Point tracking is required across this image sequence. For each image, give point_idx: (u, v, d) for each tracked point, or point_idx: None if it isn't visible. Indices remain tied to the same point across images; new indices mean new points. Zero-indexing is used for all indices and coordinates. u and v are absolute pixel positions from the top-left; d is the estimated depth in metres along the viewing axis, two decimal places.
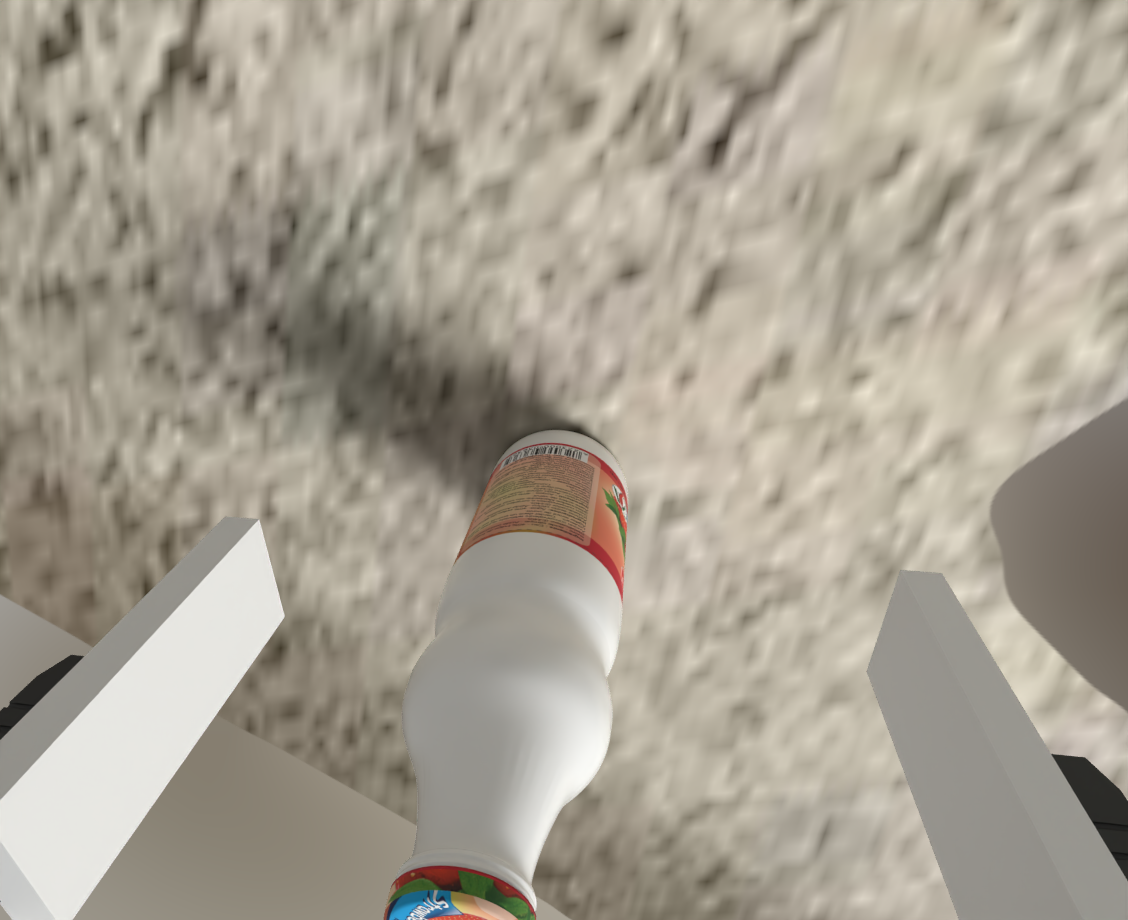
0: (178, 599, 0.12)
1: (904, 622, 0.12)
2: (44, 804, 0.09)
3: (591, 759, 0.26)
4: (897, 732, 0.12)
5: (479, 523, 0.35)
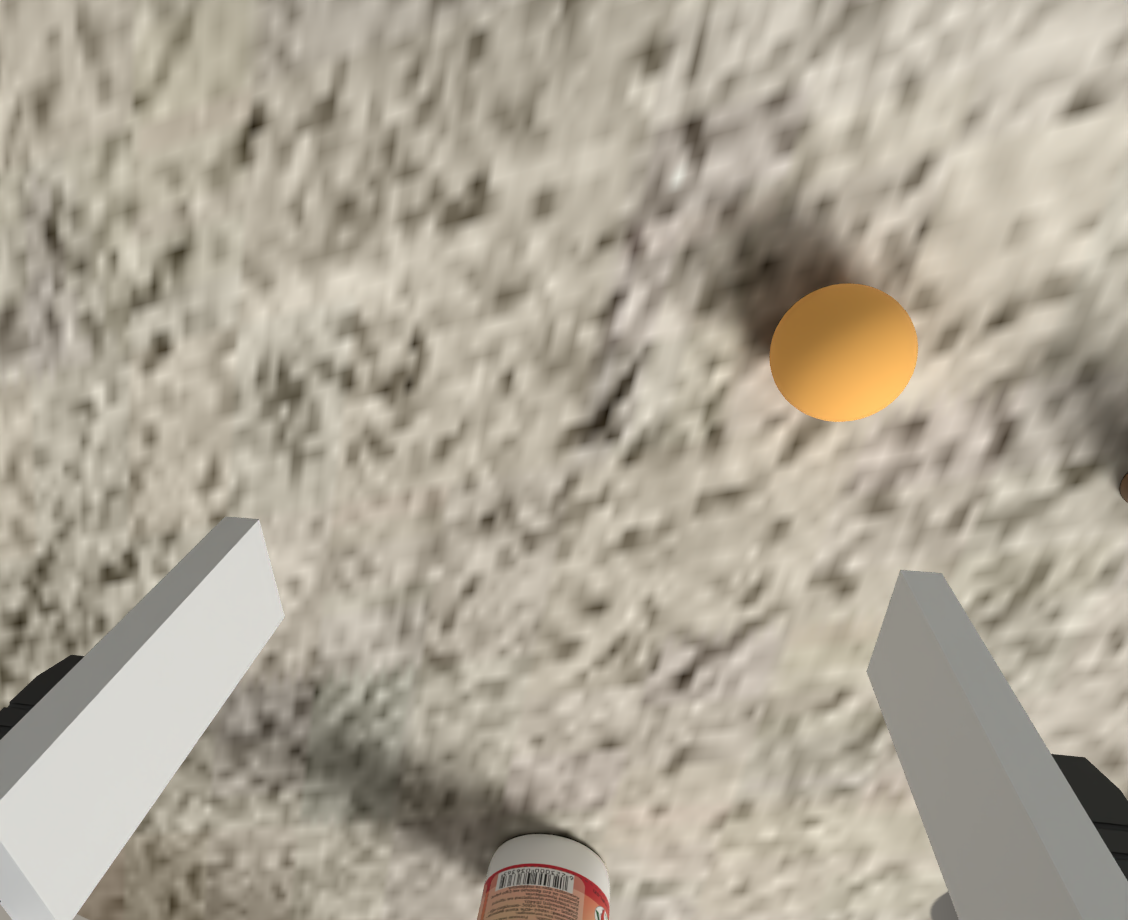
0: (178, 599, 0.12)
1: (904, 622, 0.12)
2: (44, 804, 0.09)
3: None
4: (897, 732, 0.12)
5: None
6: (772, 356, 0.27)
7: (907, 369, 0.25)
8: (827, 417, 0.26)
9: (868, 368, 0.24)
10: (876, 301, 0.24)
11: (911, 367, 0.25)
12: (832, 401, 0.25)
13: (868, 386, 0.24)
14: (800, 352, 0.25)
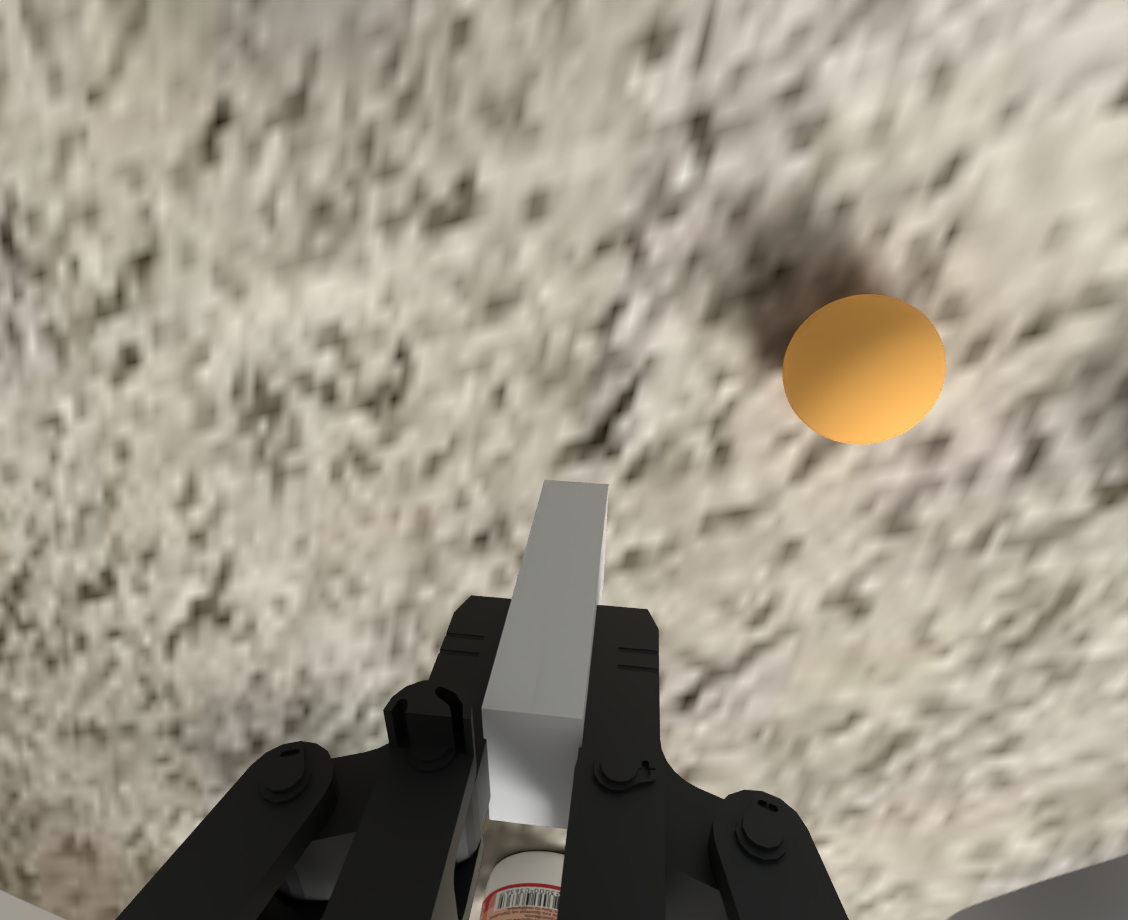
0: (558, 547, 0.13)
1: None
2: None
3: None
4: None
5: None
6: (785, 373, 0.24)
7: (935, 390, 0.22)
8: (845, 440, 0.24)
9: (893, 390, 0.22)
10: (901, 315, 0.22)
11: (939, 387, 0.23)
12: (852, 425, 0.23)
13: (892, 409, 0.22)
14: (818, 371, 0.23)
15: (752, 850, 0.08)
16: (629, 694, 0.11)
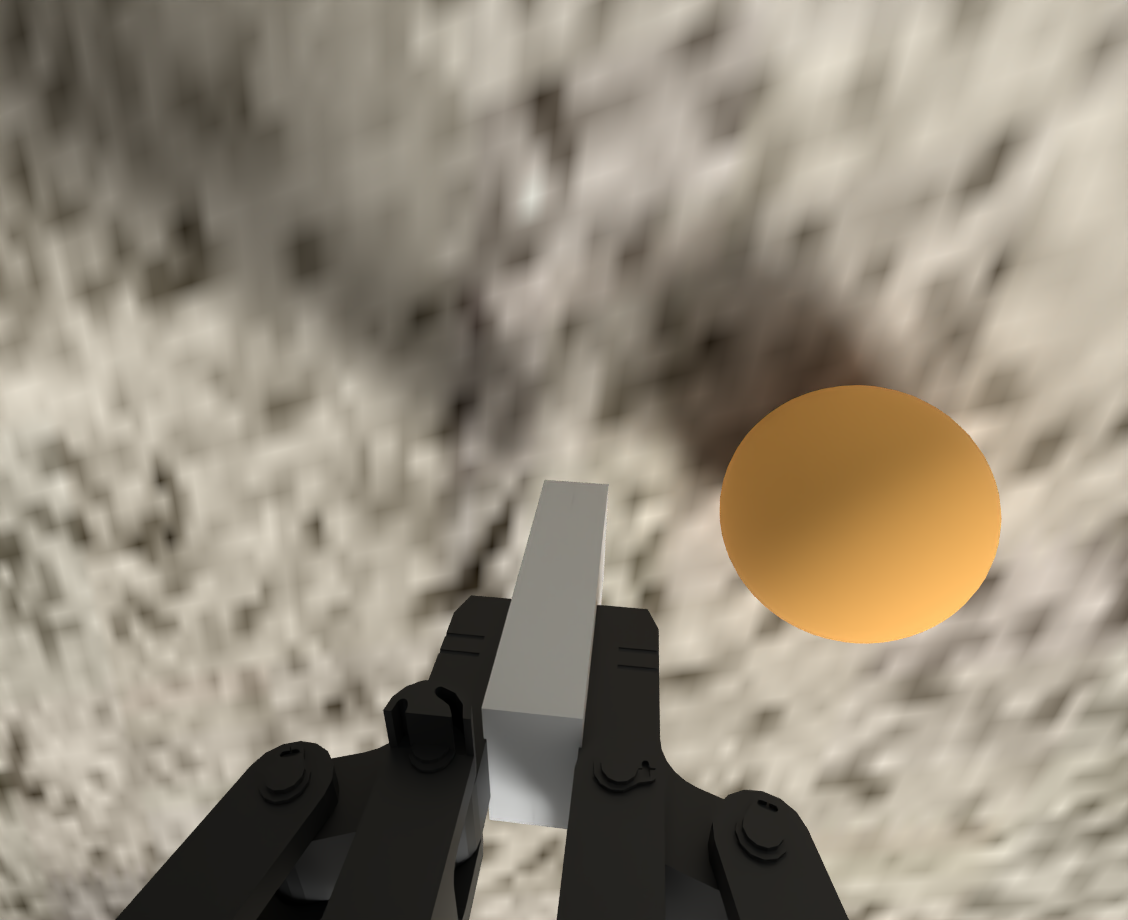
0: (558, 547, 0.13)
1: None
2: None
3: None
4: None
5: None
6: (722, 522, 0.14)
7: (984, 569, 0.12)
8: (828, 638, 0.14)
9: (907, 582, 0.12)
10: (917, 439, 0.12)
11: (991, 561, 0.12)
12: (835, 629, 0.13)
13: (907, 611, 0.12)
14: (769, 538, 0.13)
15: (752, 850, 0.08)
16: (628, 694, 0.11)
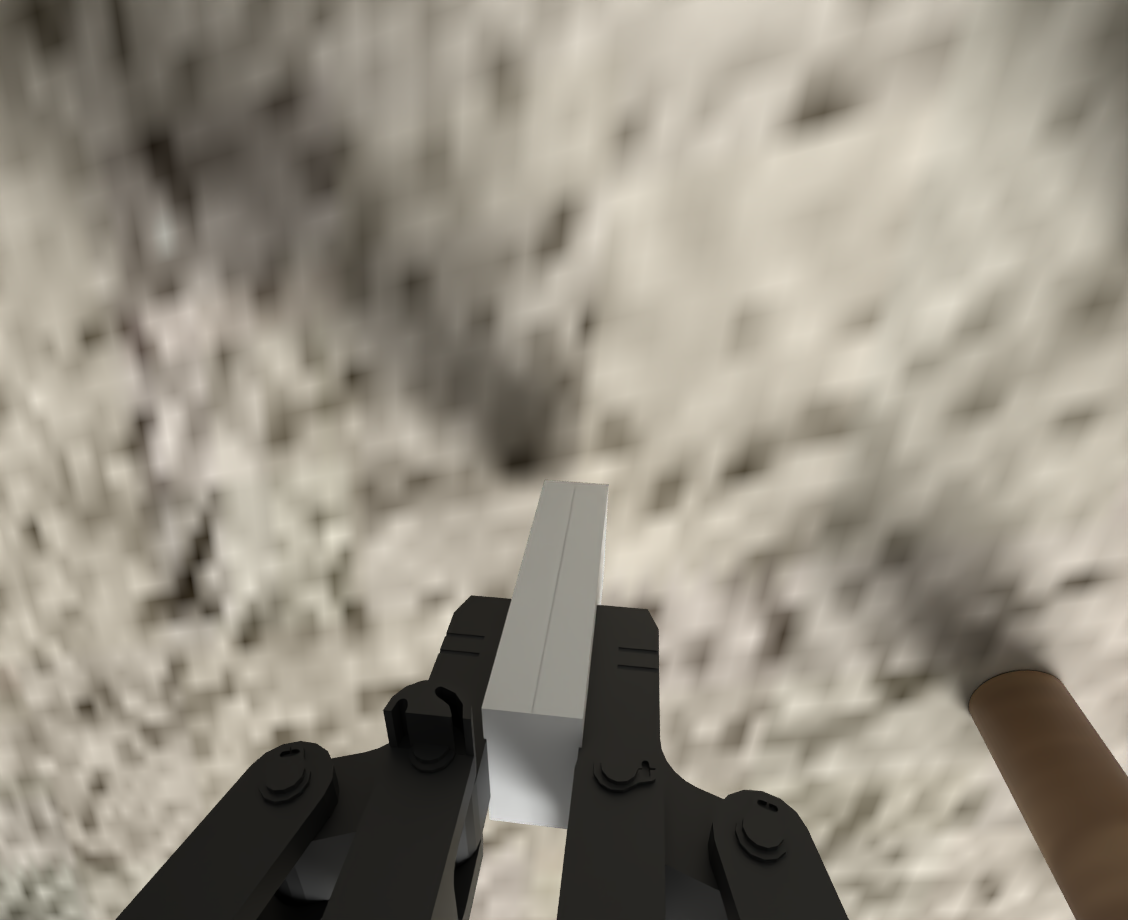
0: (558, 547, 0.13)
1: None
2: None
3: None
4: None
5: None
6: None
7: None
8: None
9: None
10: None
11: None
12: None
13: None
14: None
15: (752, 849, 0.08)
16: (628, 694, 0.11)
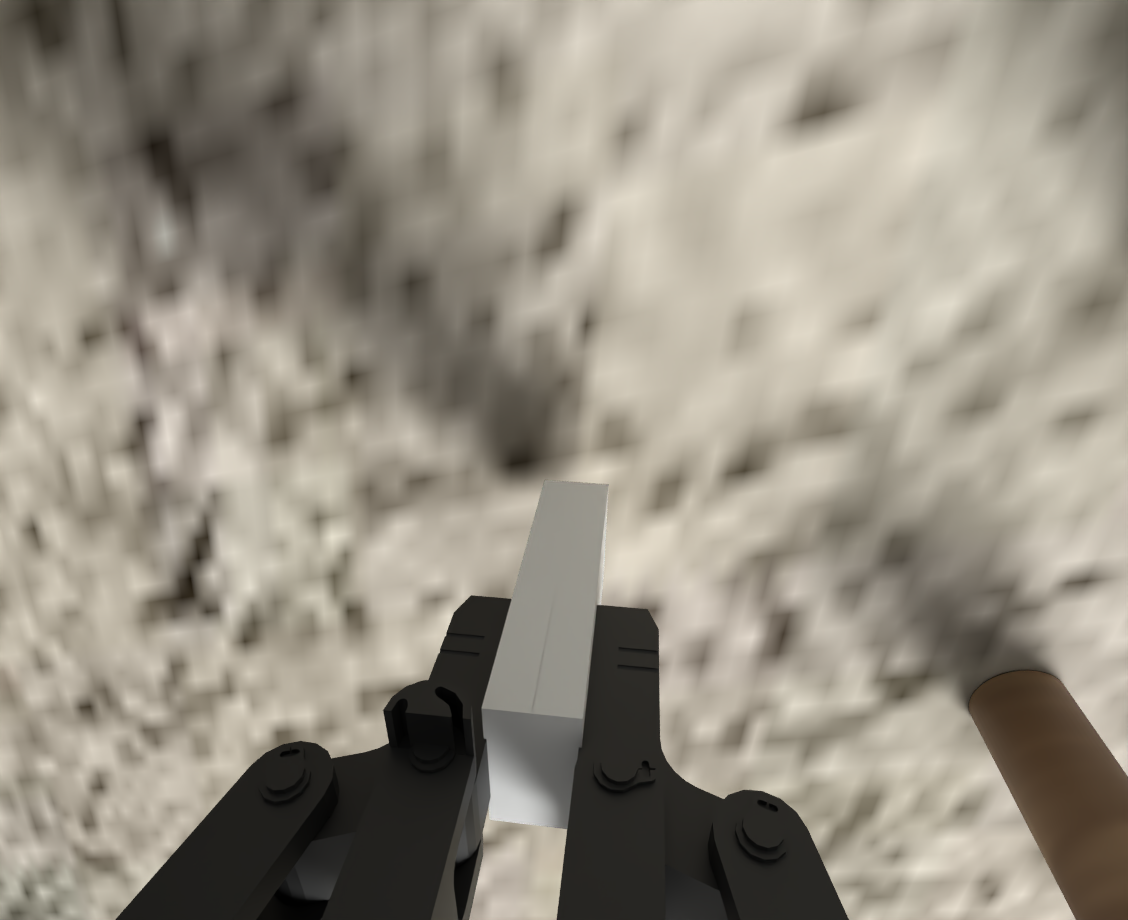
0: (558, 547, 0.13)
1: None
2: None
3: None
4: None
5: None
6: None
7: None
8: None
9: None
10: None
11: None
12: None
13: None
14: None
15: (752, 849, 0.08)
16: (628, 694, 0.11)
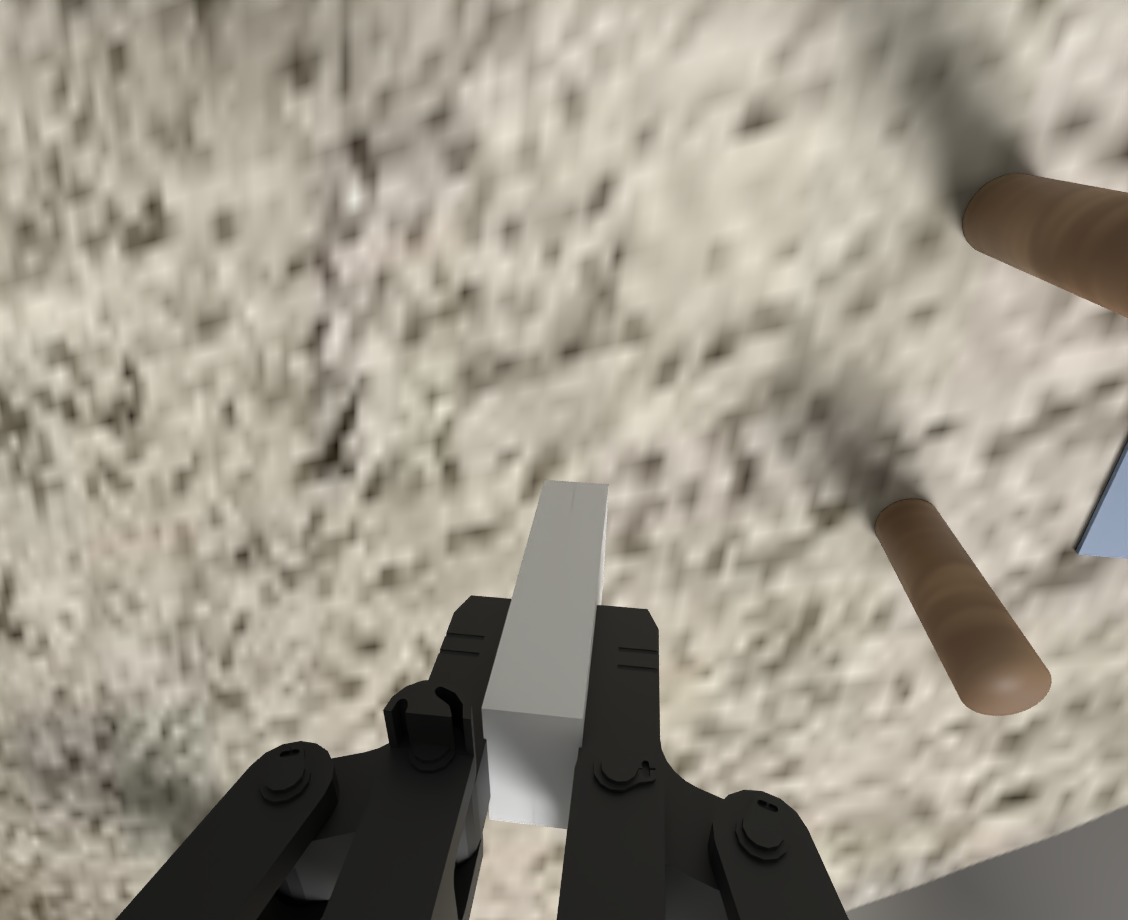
0: (558, 547, 0.13)
1: None
2: None
3: None
4: None
5: None
6: None
7: None
8: None
9: None
10: None
11: None
12: None
13: None
14: None
15: (752, 849, 0.08)
16: (629, 694, 0.11)
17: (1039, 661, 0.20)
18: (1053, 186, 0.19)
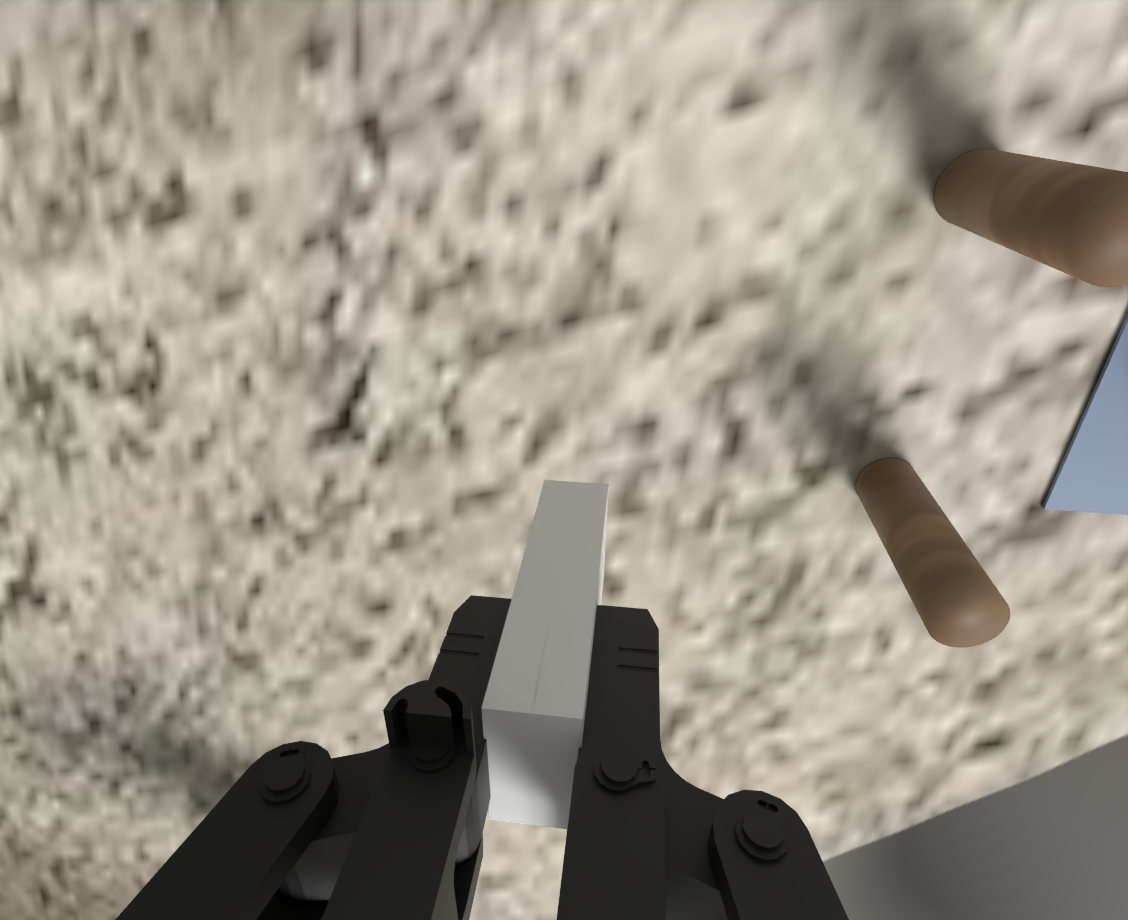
0: (558, 547, 0.13)
1: None
2: None
3: None
4: None
5: None
6: None
7: None
8: None
9: None
10: None
11: None
12: None
13: None
14: None
15: (752, 850, 0.08)
16: (629, 694, 0.11)
17: (998, 595, 0.22)
18: (1012, 159, 0.21)
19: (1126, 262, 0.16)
